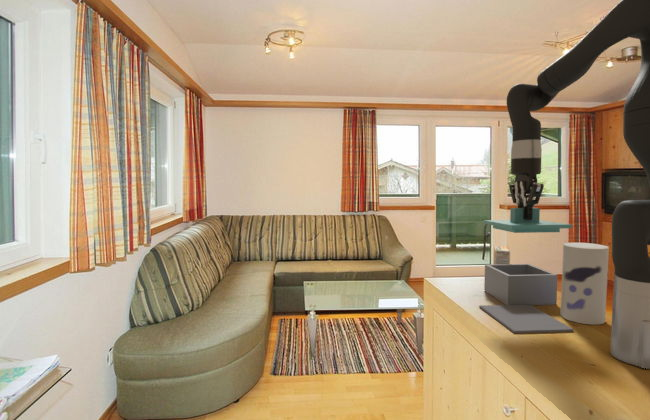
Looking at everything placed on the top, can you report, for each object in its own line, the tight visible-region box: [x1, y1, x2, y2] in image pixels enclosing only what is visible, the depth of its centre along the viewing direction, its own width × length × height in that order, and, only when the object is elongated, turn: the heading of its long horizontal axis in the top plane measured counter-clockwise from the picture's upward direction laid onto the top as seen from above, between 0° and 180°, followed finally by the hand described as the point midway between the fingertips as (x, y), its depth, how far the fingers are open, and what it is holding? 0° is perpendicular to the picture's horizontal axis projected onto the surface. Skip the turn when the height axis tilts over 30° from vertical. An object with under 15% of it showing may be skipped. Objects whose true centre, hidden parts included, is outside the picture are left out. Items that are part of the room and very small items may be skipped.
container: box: [560, 242, 610, 326], centre depth 103 cm, size 10×10×20 cm
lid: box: [483, 207, 573, 234], centre depth 108 cm, size 16×16×6 cm
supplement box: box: [492, 245, 511, 265], centre depth 137 cm, size 8×5×13 cm, turn 160°
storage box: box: [483, 263, 559, 306], centre depth 122 cm, size 15×15×9 cm
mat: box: [478, 304, 575, 334], centre depth 104 cm, size 19×15×1 cm
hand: (524, 219), depth 108 cm, fingers closed on lid, 2 cm apart
